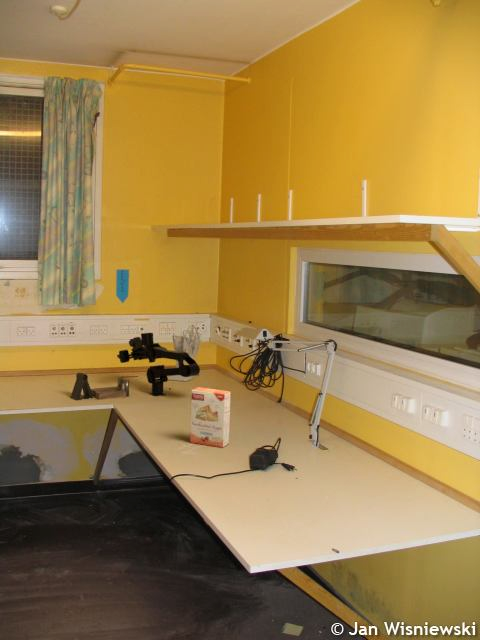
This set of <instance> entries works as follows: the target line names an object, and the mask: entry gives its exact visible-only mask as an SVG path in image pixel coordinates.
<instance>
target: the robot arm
mask: <svg viewBox="0 0 480 640" xmlns="http://www.w3.org/2000/svg"><path fill="white" fill-rule="evenodd" d="M128 344H129V347H131V352H129V350H128V349H121V350H119V352H118V354H117V356H116V357H117V358H118V359H119V361H120V363H121V364H124V363H129V362H130V359H133V361H138V360H139V361H142V360H148V363H155V362H156V360H159V359H169V360H175V361H176V360H178V362H179V367H177V368H176V367H165V364H158V365H151V366H149V367H148V368H147V371H146V379H147V382H148V383H149V384H151V392H148V394H150V395H152V396H154V397H157V396H159V397H160V396H166V395H167V393H165V392H164V383H165V382H167V383H168V377H170V376H173V375H181V376H183V377H191V376H193V377H195V376H200V375H199V374H200V373H201V372H200V371H201V368H200V366H199V364H198V363H197V361H196V359H195V360H194V358H193V357H192V356H191V357H192V358H191V357H190V356H189V355H188V353H187V351H186V352H178V351H175V350H170V349H167V348H166V347H164V346H162V345H161V344H159V342H155V343H154V333H153V332H144V333H140V337H139V336H136V337H133V338H130V339H129V341H128ZM183 360H184V363H183ZM185 361H186V362H187V363H188V364H187V363H186V364H185Z"/></svg>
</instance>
